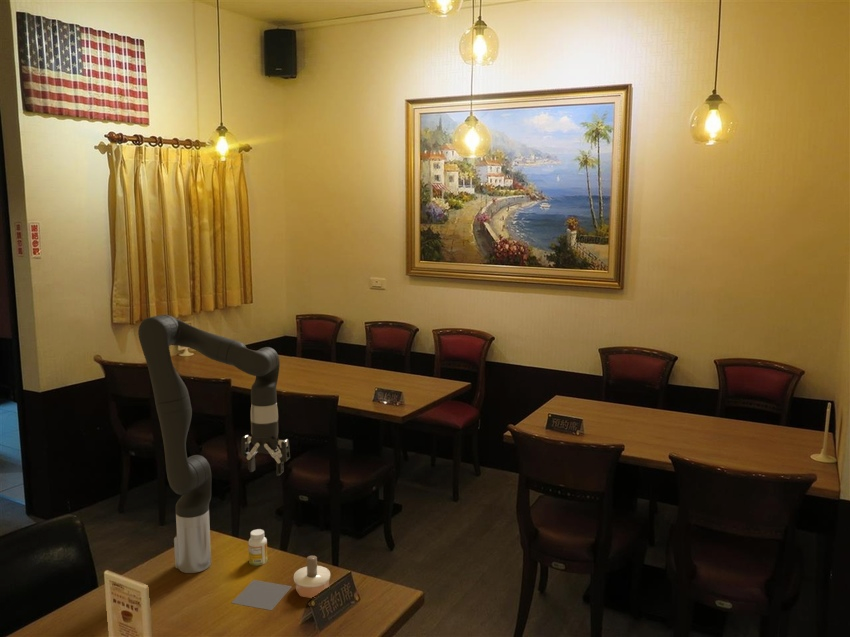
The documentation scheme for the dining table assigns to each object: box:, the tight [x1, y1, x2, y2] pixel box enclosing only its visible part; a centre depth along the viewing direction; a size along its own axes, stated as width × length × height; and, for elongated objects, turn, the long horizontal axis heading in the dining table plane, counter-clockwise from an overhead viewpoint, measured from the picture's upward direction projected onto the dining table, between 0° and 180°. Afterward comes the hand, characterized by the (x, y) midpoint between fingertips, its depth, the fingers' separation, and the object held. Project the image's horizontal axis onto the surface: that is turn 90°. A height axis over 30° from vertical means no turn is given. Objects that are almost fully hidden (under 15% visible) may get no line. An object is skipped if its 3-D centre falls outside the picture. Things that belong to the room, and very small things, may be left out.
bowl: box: [295, 580, 330, 599], centre depth 193 cm, size 8×8×4 cm
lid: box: [293, 555, 331, 587], centre depth 192 cm, size 10×10×6 cm
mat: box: [231, 579, 293, 611], centre depth 190 cm, size 12×12×1 cm
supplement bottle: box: [247, 528, 268, 566], centre depth 207 cm, size 5×5×10 cm
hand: (265, 472), depth 199 cm, fingers open, 8 cm apart
